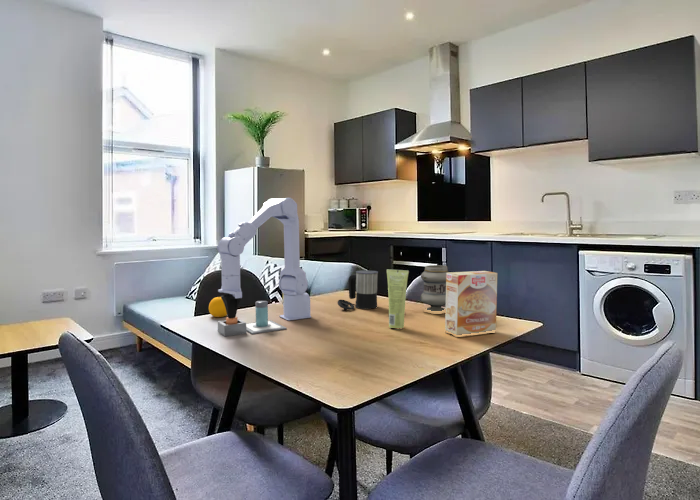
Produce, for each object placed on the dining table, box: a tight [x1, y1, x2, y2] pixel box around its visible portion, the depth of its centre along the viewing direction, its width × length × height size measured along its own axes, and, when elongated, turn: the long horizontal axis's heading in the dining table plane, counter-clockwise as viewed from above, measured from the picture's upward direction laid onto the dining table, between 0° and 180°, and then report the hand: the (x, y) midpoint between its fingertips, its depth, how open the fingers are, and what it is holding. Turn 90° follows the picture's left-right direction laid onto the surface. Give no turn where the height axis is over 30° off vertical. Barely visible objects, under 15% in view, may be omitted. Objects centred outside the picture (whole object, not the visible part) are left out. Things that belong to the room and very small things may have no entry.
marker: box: [254, 300, 269, 327], centre depth 152 cm, size 4×4×8 cm
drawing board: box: [246, 319, 288, 335], centre depth 152 cm, size 12×13×1 cm
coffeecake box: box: [444, 270, 498, 335], centre depth 144 cm, size 15×7×20 cm, turn 112°
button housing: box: [217, 318, 247, 337], centre depth 145 cm, size 7×7×3 cm
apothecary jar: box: [420, 264, 450, 311], centre depth 176 cm, size 12×12×18 cm
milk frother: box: [336, 269, 379, 311], centre depth 184 cm, size 14×16×15 cm
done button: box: [225, 316, 239, 325], centre depth 145 cm, size 4×4×2 cm
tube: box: [386, 269, 410, 329], centre depth 151 cm, size 6×5×20 cm
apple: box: [208, 296, 227, 318], centre depth 169 cm, size 8×8×8 cm
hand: (231, 317), depth 145 cm, fingers closed
